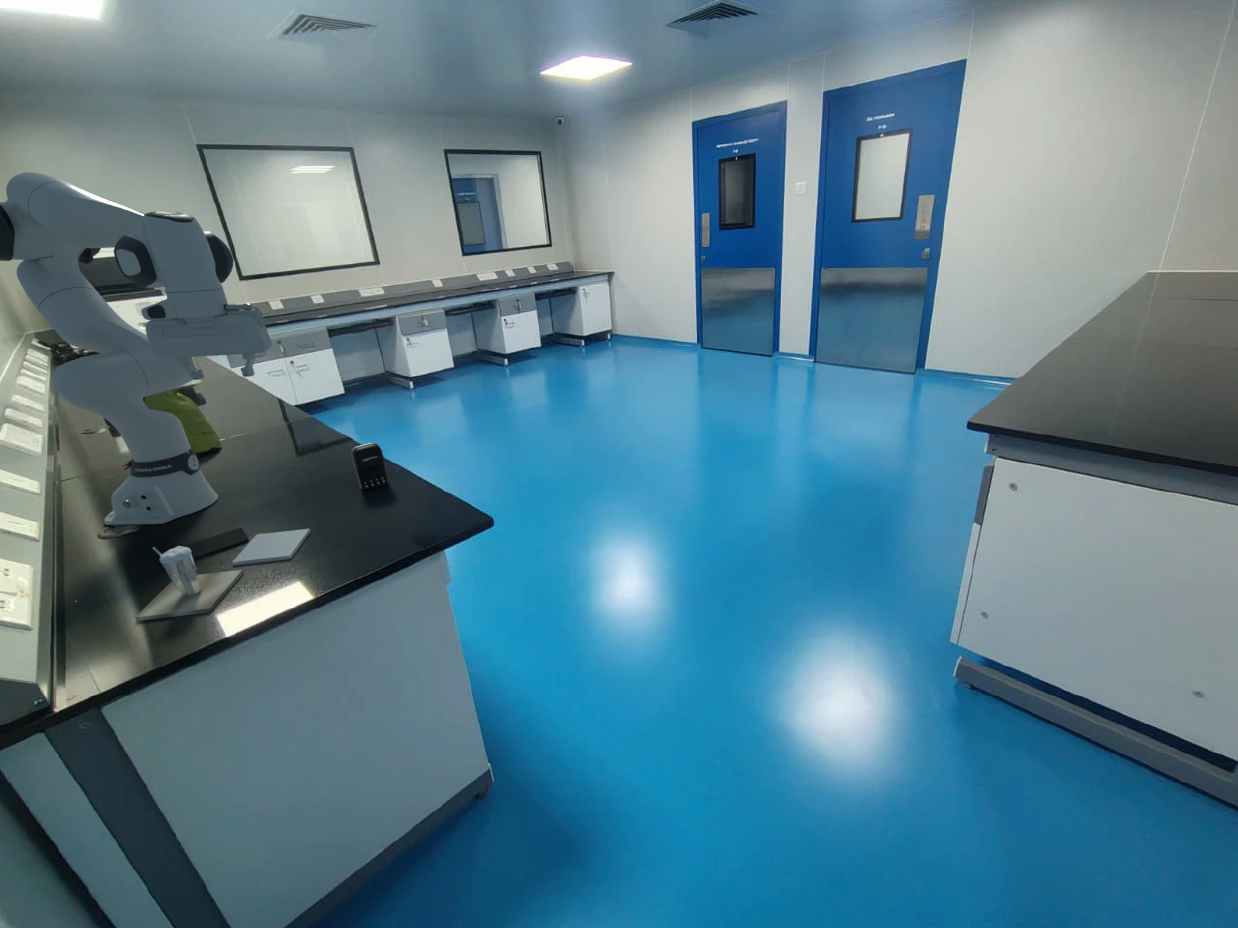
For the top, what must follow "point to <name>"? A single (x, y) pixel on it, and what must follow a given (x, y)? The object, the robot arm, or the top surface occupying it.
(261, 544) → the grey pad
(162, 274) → the robot arm
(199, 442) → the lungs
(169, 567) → the milkshake
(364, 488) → the battery charger
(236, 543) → the phone
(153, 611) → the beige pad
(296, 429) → the top surface
